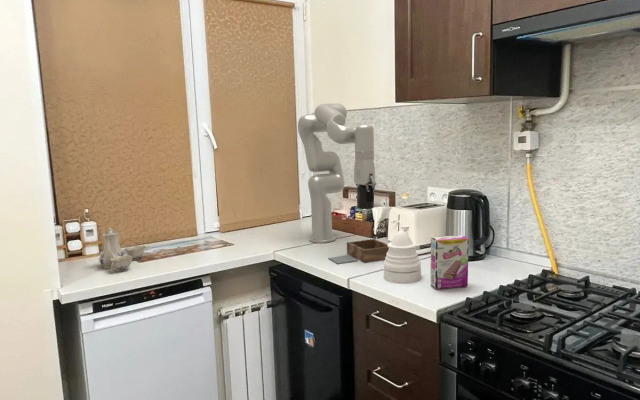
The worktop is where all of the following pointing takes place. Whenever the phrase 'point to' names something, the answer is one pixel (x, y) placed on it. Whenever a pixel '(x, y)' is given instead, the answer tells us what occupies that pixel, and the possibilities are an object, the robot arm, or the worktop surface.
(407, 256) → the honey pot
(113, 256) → the chinaware
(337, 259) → the grey mat
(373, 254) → the open-top box
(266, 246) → the worktop surface
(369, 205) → the supplement bottle
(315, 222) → the robot arm
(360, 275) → the worktop surface
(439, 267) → the candy bar box
